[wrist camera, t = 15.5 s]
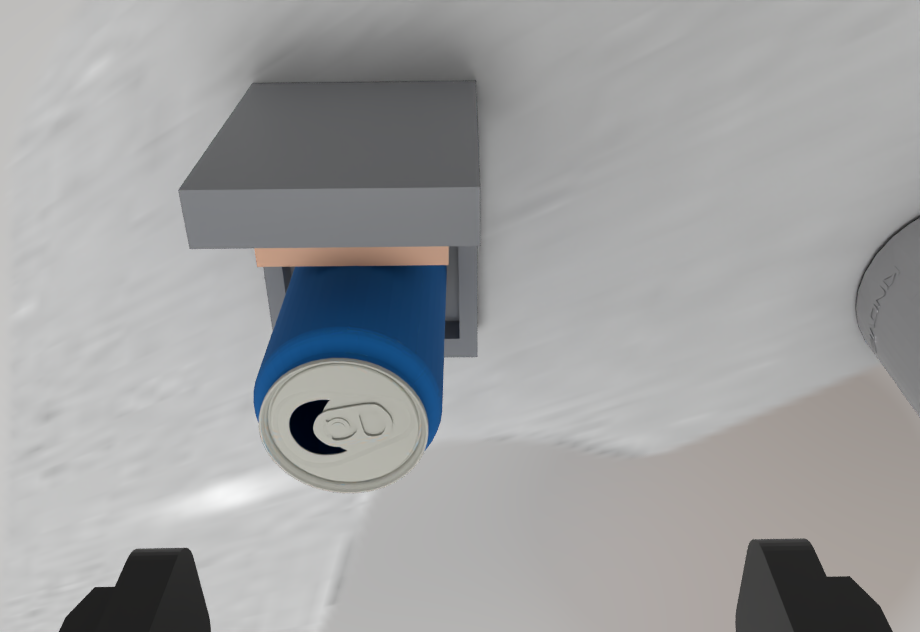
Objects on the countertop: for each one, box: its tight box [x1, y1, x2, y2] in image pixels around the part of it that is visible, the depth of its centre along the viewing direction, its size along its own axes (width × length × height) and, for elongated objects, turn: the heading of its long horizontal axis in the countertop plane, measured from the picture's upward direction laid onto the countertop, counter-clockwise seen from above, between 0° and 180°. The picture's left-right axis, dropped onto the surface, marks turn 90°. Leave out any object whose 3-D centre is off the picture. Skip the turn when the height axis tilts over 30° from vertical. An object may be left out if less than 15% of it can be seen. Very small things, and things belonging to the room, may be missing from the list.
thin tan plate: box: [254, 246, 449, 267], centre depth 34 cm, size 1×7×6 cm, turn 91°
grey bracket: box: [178, 81, 480, 357], centre depth 34 cm, size 12×9×11 cm
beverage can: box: [254, 265, 447, 493], centre depth 34 cm, size 6×6×12 cm
